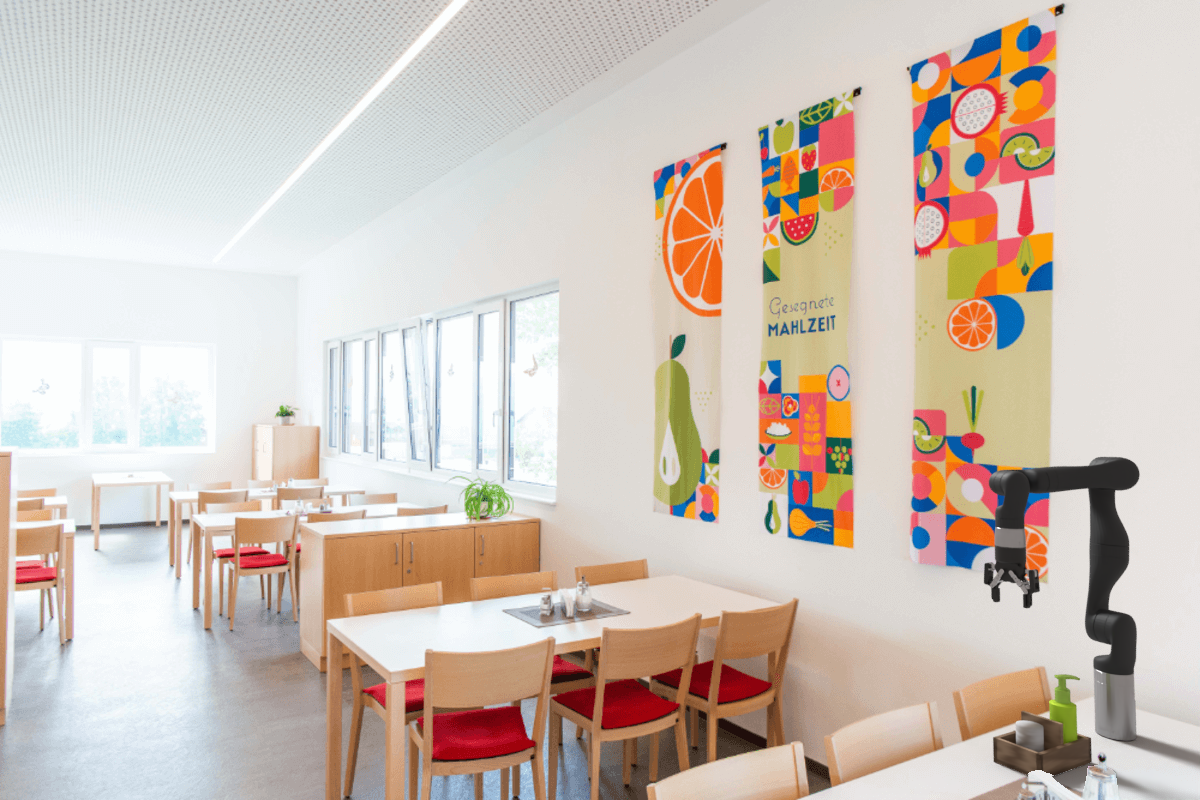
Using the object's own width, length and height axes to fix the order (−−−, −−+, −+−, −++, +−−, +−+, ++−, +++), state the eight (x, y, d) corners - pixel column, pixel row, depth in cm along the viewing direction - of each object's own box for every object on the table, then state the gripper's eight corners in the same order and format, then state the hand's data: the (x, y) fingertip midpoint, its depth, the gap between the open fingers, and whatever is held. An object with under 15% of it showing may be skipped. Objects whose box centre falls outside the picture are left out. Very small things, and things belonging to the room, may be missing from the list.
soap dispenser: (1087, 761, 189) (1084, 679, 190) (1057, 760, 189) (1055, 678, 190) (1074, 752, 195) (1072, 672, 195) (1046, 751, 195) (1044, 671, 196)
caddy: (993, 761, 191) (992, 716, 192) (1044, 745, 201) (1043, 702, 202) (1040, 780, 181) (1039, 733, 181) (1091, 762, 191) (1090, 717, 191)
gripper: (1044, 546, 203) (1045, 608, 203) (993, 540, 216) (995, 598, 215) (1027, 548, 200) (1029, 611, 199) (977, 542, 212) (978, 601, 211)
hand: (1011, 604), depth 207 cm, fingers open, 8 cm apart
